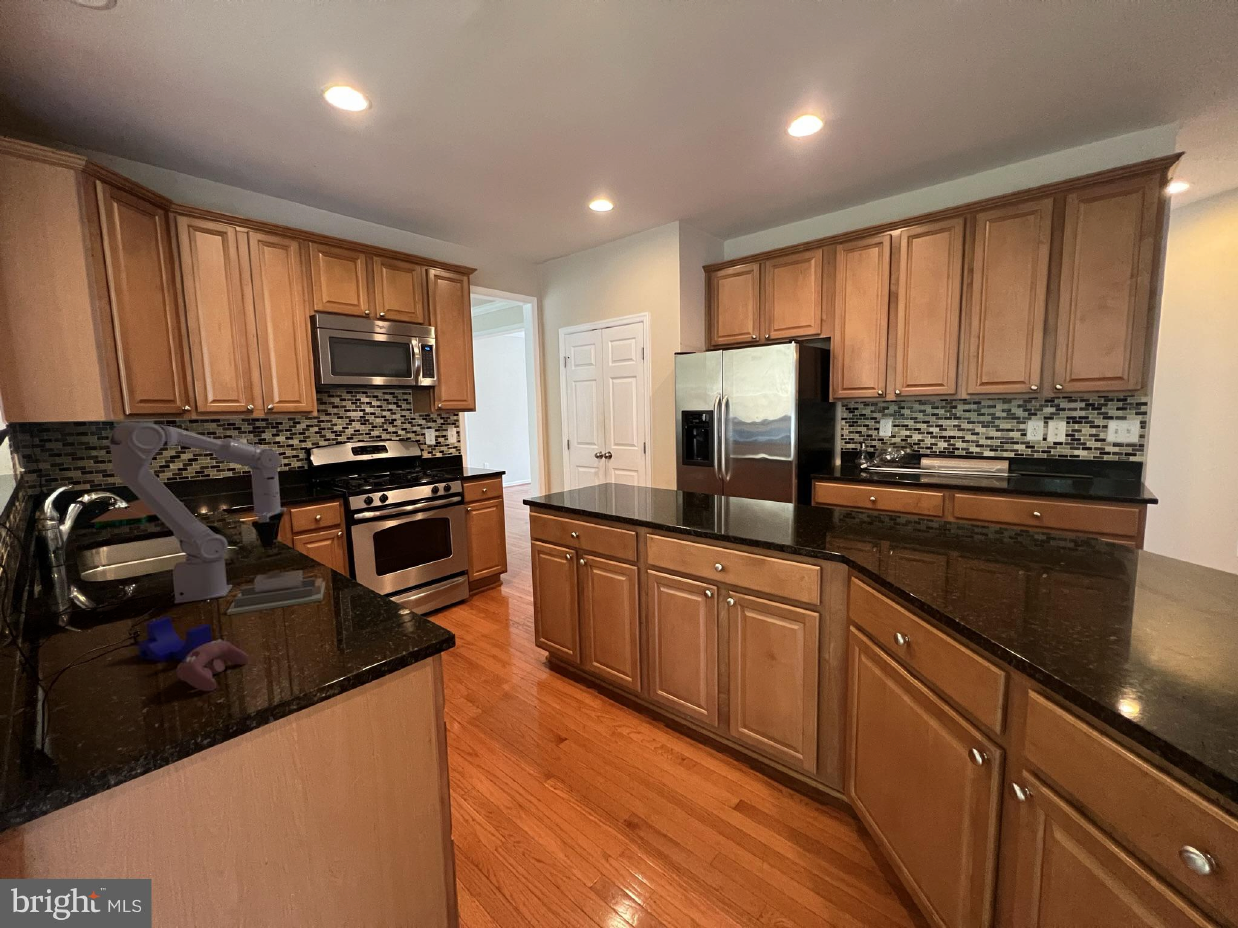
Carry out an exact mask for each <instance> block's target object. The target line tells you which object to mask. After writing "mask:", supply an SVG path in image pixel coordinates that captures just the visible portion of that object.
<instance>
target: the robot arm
mask: <svg viewBox="0 0 1238 928" xmlns="http://www.w3.org/2000/svg"><path fill="white" fill-rule="evenodd" d="M107 443H108V444H107V445H109V448H110V454H111V457H110V458H111V464H112V467H111V468H112V471H113V473H114V474H115V476H116V477H117V478H118V479H120V481H121V482H123V484H125V486H126V487H127V488H128V489H130V491H131V492H133V494H135V495H136V496H137V498H138V499H139V500H140V499H141V500H142V501H143V502H144V503H145V504H146V505H147V506H148V507H149V508H150V509H151V510H152V511H153V512H154V513H155V514H156V515H157V516H156V517H157V518H158V519H159V520H160V521H162V522H163V523H164V524H165V525H166V526H167V527H168V528H169V529H170V530H171V531H172V532H173V536H174V537H173V538H175V539H176V540H177V541H178V543H179V548H180V550H181V552H182V553H184V554H186V557H185V560H184V561H179V562H176V563H175V564H174V566H173V569H172V580H173V590H174V599H175V600H174V601H173V602H174V604H180V603H188V602H195V601H196V602H197V601H202V600H210V599H217V598H223V597H226V596H227V594H228V593H229V591H230V590H232V588H233V584H228V583H227V571H226V563H225V554H226V553H227V551H228V547H229V544H228V540H227V538H225V537H224V536H223V535H221V534H216V533H215V532H214V531H213V530H211V529H210V528H209V527H208V526H207V525H205V524H204V523H202V522H200V521H199V520H198V519H197V518H196V517H195V516H194V515H193V514H192V513H191V511H189V509H188V508H187V507H186V506H185V505H184V504H182V503H181V502H182V501H180V500H179V499H178V498H177V497H176V496H175V494H173V493H172V492H171V491H170V489H168V487H166V486H165V484H164V483H163V482H162V481H161V480H160V479H159V478H158V477H157V476H156V475H155V474H154V473H153V472H152V470H150V466H151V463H152V460H153V457H154V456H155V455H156V454H157V453H158V451H159V450H160V449H161V448H162V447H170V446H171V447H172V446H176V445H178V446H182V447H186V448H190V449H191V448H192V449H196V450H200V451H205V452H208V453H213V454H214V455H215V457H216V458H217V459H218V461H222V462H226V463H230V464H235V465H240V466H243V467H248V468H249V469H250V473H251V485H252V486H251V487H252V497H253V498H252V499H253V509H254V510H253V514H254V515H255V516H257V520H253V521H251V526H252V528H253V529H254V530H255V532H256V533H257V535H258V538H259V541H260V544H261V547H262V548H265V549H266V548H272V547H273V546H274V541H277V540H278V538H279V533H280V526H281V522H282V519H283V517H284V513H285V512H286V511H287V508H286V507H281V496H280V484H279V483H280V482H279V468H280V467H281V465H282V463H283V459H282V458H281V457H280V455H279V453H278V452H277V451H276V450H275V449H271V448H261V445H260V444H258V443H254V444H250V443H247V442H243V441H241V439H240V438H239V437H234V436H233V437H231V438H229V437H227V438H224V439H221V440H217V439H214V438H211V437H207V436H204V435H201V434H197V433H194V432H191V431H188V430H184V429H181V428H178V427H172V426H168V425H159V424H154V423H151V422H134V421H126V422H122V423H119V424H118V425H117V426H115V427H114V428H113V430H112V432H111V433H110V436H109V437H108V439H107Z"/></svg>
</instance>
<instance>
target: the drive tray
mask: <svg viewBox="0 0 1238 928" xmlns="http://www.w3.org/2000/svg"><path fill="white" fill-rule="evenodd" d="M323 580H324V579H323V577H320V578H315V577H310V578H303V588H300V589H293V590H285V591H278V592H271V593H264V594H257V595H255V586H254V585H249V586H242V587H240V593H238V594H237V595H236V597H234V598H233V602H232V603H231V605H230V606H229V608H228V610H227V611H226V615H227V616H230V615H236V614H237V615H238V614H242V613H243V614H245V613H251V612H257V611H264V610H269V609H277V608H281V607H282V608H283V607H288V606H289V607H291V606H296V605H302V604H303V605H304V604H310V603H315V602H322V601H323V598H324V597H323V596H324V592H325V587H326V581H323Z"/></svg>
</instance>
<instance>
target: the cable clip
mask: <svg viewBox="0 0 1238 928" xmlns="http://www.w3.org/2000/svg"><path fill="white" fill-rule="evenodd" d="M172 623H173V622H172V618H171V617H167V616H165V617H161V618H159V619H156V620H153V621H151V622H148V623H146V630H147V631H146V632H147V639H146V640H142V641H139V642H138V651H139V652H138V654H139V657H140V658H142V659H147V660H151V661H156V662H160V663H164V662H166V661H169V660H170V659H174V660H178V661H179V660H180V661H183V660H184V659H185V658H186V656H187V655H188V654H189V653H190V652H192V651H193V650H194V649H196V648H197V647H199V646H201V645H204V644H206V643H210V642H212V641H213V640H212V629H211V625H210V624H202V625H199V626H196V627H194V628H191V629H188V630H186V631H185V633H186V634H185V635H186V636H185V641H184V640H182V638H180V636H178V633H177V632H176V631H175V629H174V626H173V624H172Z"/></svg>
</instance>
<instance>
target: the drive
mask: <svg viewBox="0 0 1238 928" xmlns="http://www.w3.org/2000/svg"><path fill="white" fill-rule="evenodd" d="M303 579H304V578H303V570H294V571H293V570H292V571H283V572H276V573H268V574H259V575H257V576H256V577H255V579H254V580H253V586H255V595H257V594H264V593H271V592H278V591H285V590H293V589H300V588H303Z"/></svg>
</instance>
